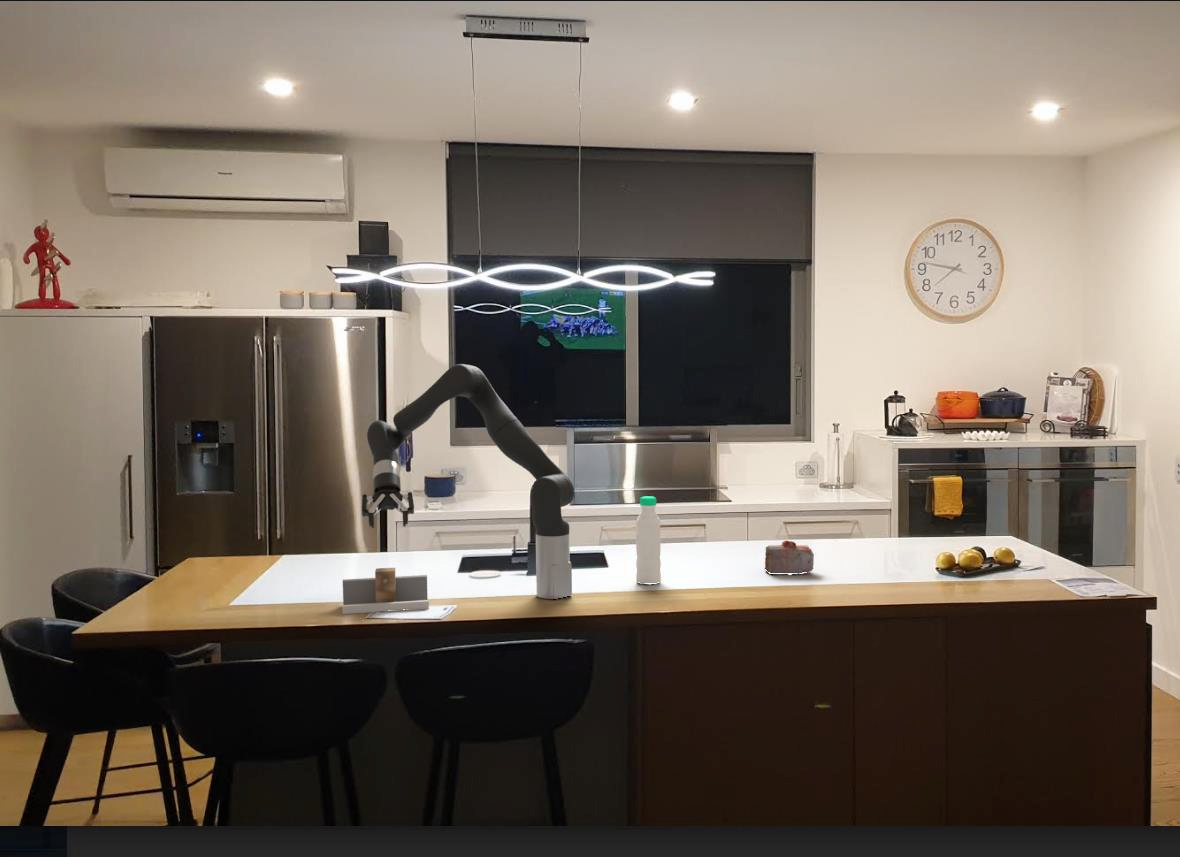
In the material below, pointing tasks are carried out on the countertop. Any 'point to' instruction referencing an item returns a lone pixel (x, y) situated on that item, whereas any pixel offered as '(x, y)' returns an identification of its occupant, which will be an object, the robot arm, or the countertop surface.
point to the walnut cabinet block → (385, 585)
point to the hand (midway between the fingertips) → (388, 525)
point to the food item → (789, 558)
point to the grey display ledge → (363, 600)
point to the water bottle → (648, 542)
